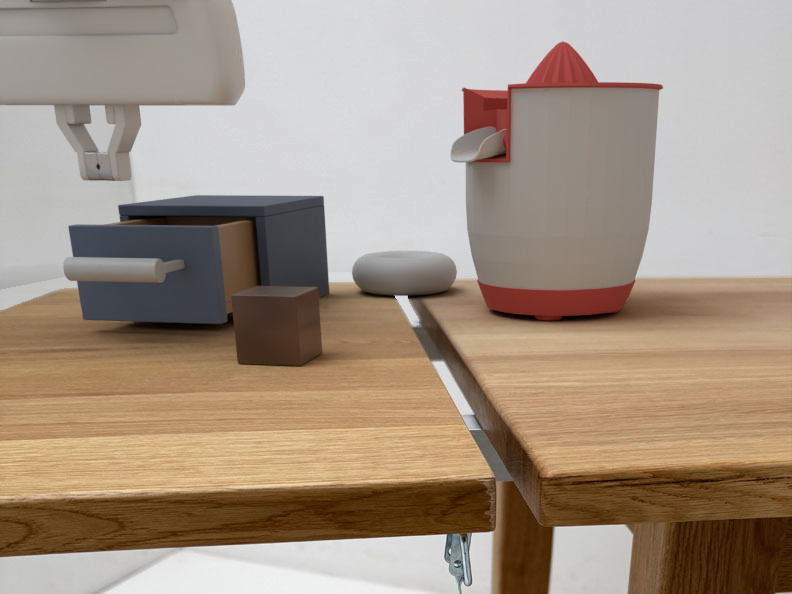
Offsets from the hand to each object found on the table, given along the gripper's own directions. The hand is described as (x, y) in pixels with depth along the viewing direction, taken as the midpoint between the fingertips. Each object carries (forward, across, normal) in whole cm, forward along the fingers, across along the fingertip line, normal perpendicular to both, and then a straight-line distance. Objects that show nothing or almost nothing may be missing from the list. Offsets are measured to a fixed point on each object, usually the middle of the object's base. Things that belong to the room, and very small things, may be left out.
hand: (106, 180), depth 70 cm
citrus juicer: (+11, +28, +19) cm, 36 cm away
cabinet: (+11, 0, +19) cm, 22 cm away
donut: (+11, +13, +29) cm, 34 cm away
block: (+11, +13, -4) cm, 18 cm away
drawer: (+10, 0, +7) cm, 12 cm away
